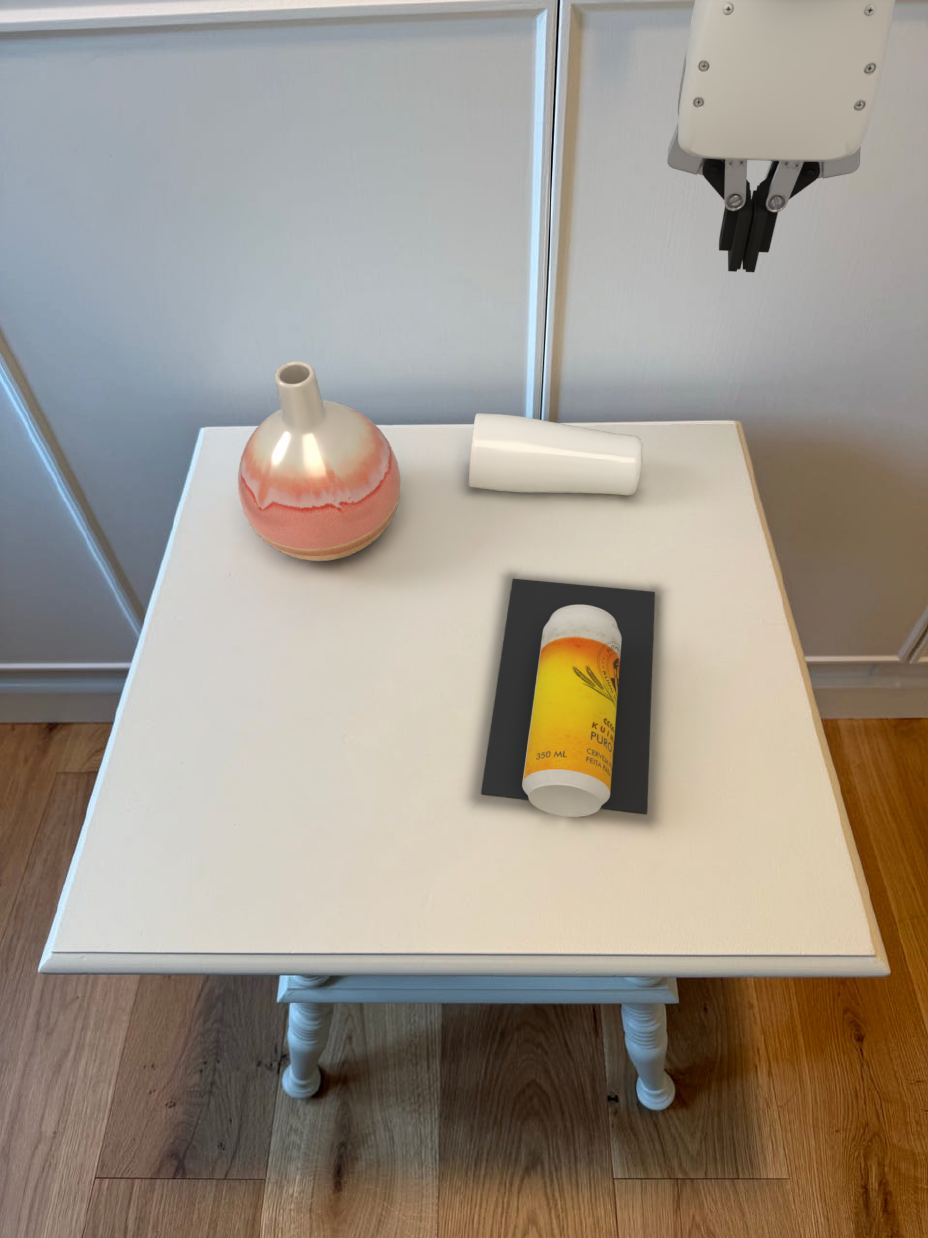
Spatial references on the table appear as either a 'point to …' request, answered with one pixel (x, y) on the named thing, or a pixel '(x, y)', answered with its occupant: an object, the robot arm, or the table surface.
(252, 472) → the vase
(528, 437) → the white tumbler
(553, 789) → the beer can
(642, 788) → the mat
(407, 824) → the table surface
